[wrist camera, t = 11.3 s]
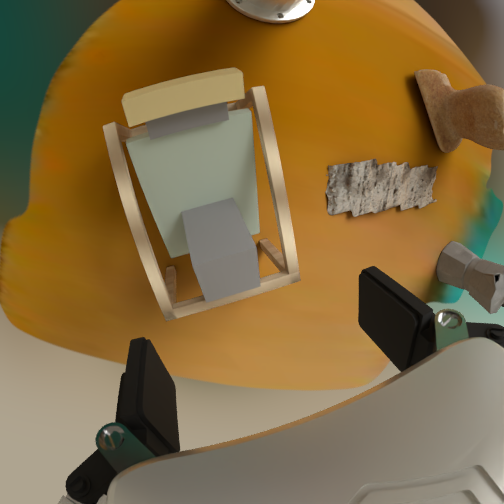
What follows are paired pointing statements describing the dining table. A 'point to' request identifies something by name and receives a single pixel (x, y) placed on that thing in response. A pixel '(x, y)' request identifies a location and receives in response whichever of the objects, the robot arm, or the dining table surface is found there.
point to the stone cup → (462, 111)
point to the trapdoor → (193, 149)
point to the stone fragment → (378, 187)
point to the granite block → (221, 249)
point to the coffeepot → (472, 275)
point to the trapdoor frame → (282, 261)
